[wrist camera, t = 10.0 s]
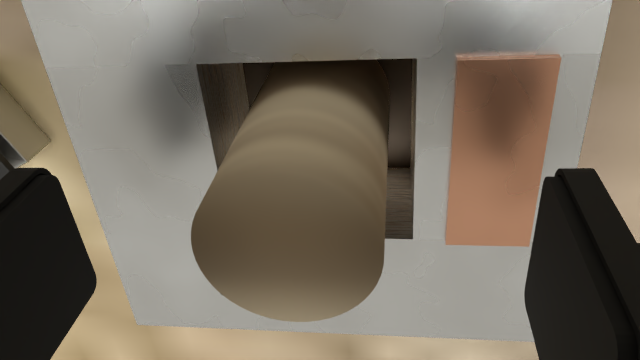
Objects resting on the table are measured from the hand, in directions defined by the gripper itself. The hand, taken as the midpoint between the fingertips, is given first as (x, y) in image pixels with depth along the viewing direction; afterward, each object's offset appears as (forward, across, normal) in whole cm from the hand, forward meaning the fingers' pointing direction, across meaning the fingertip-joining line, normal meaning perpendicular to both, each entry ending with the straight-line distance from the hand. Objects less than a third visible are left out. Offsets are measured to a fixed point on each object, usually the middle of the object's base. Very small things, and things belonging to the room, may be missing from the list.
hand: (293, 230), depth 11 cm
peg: (+6, 0, 0) cm, 6 cm away
